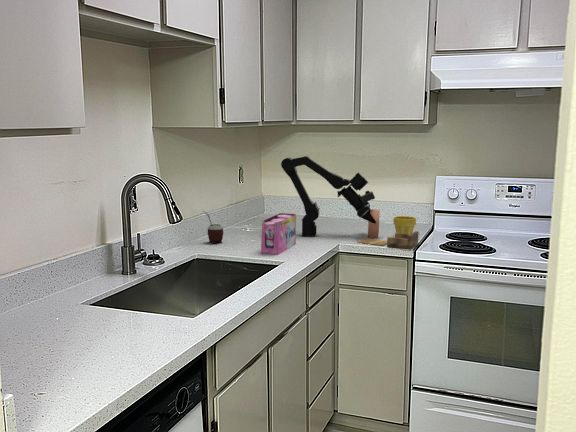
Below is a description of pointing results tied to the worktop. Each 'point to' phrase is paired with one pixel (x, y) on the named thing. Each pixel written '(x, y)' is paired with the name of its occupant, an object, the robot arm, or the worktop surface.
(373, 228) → the post
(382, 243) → the brown wooden flat block
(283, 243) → the gum box
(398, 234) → the open wooden box
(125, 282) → the worktop surface
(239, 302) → the worktop surface
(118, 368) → the worktop surface
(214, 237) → the mate gourd
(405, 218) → the plant pot
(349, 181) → the robot arm
